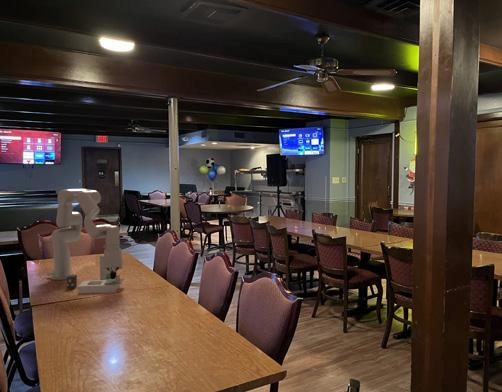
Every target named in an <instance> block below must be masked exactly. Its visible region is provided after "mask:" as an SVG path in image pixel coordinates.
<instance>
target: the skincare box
mask: <svg viewBox="0 0 502 392" xmlns="http://www.w3.org/2000/svg"><path fill="white" fill-rule="evenodd" d="M103 256H104V254H101V255H99V280H108V279H111V278H110V272H109V271H108V270H107V269H103ZM112 270H113V271H114V267H112ZM115 279H116V277H115Z"/></svg>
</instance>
